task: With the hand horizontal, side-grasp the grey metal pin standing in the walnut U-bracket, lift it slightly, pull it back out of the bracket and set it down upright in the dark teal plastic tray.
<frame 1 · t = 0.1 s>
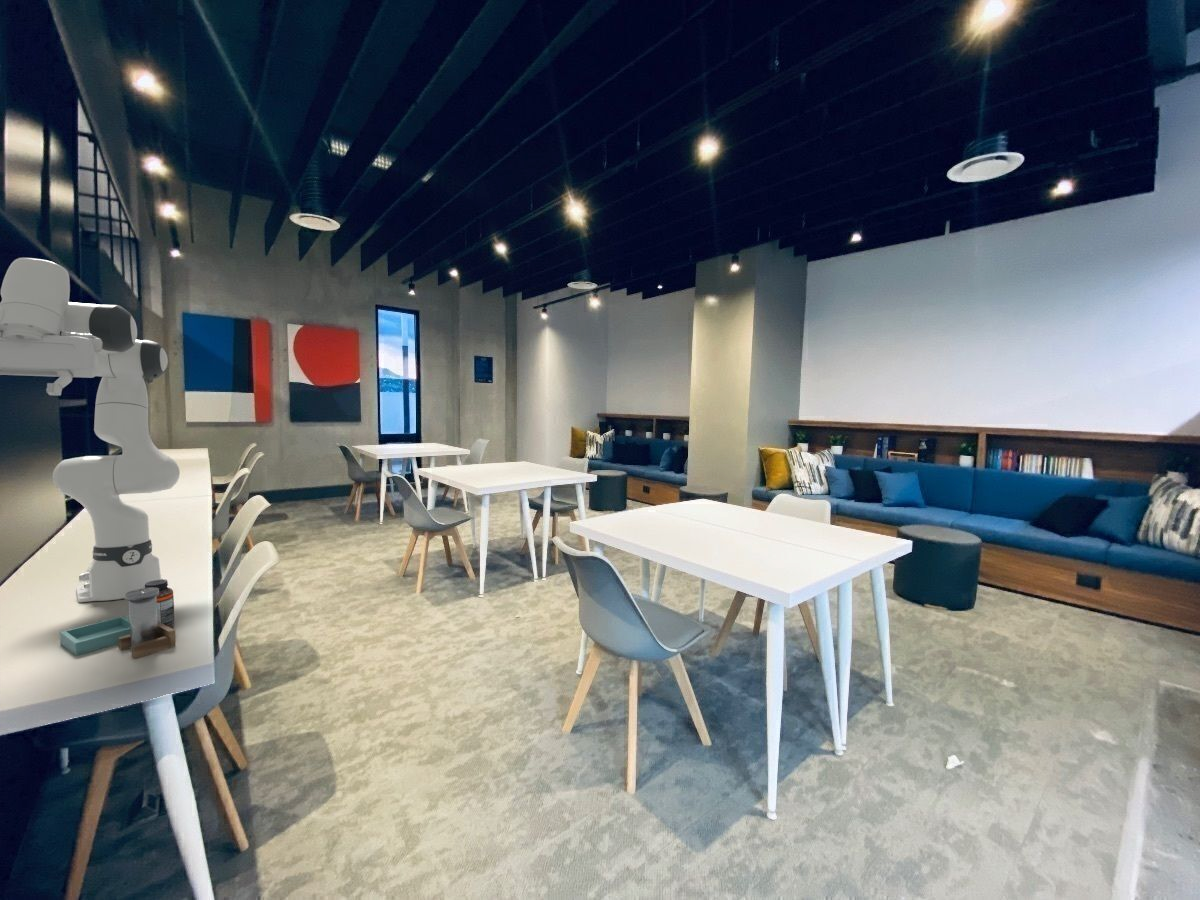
hand: (16, 393, 90), 54 cm above the table, tool tilted 30°, fingers open, 8 cm apart
pin: (145, 648, 108), on the table
tray: (101, 639, 112), on the table
bracket: (145, 647, 108), on the table
supplement bottle: (158, 629, 118), on the table
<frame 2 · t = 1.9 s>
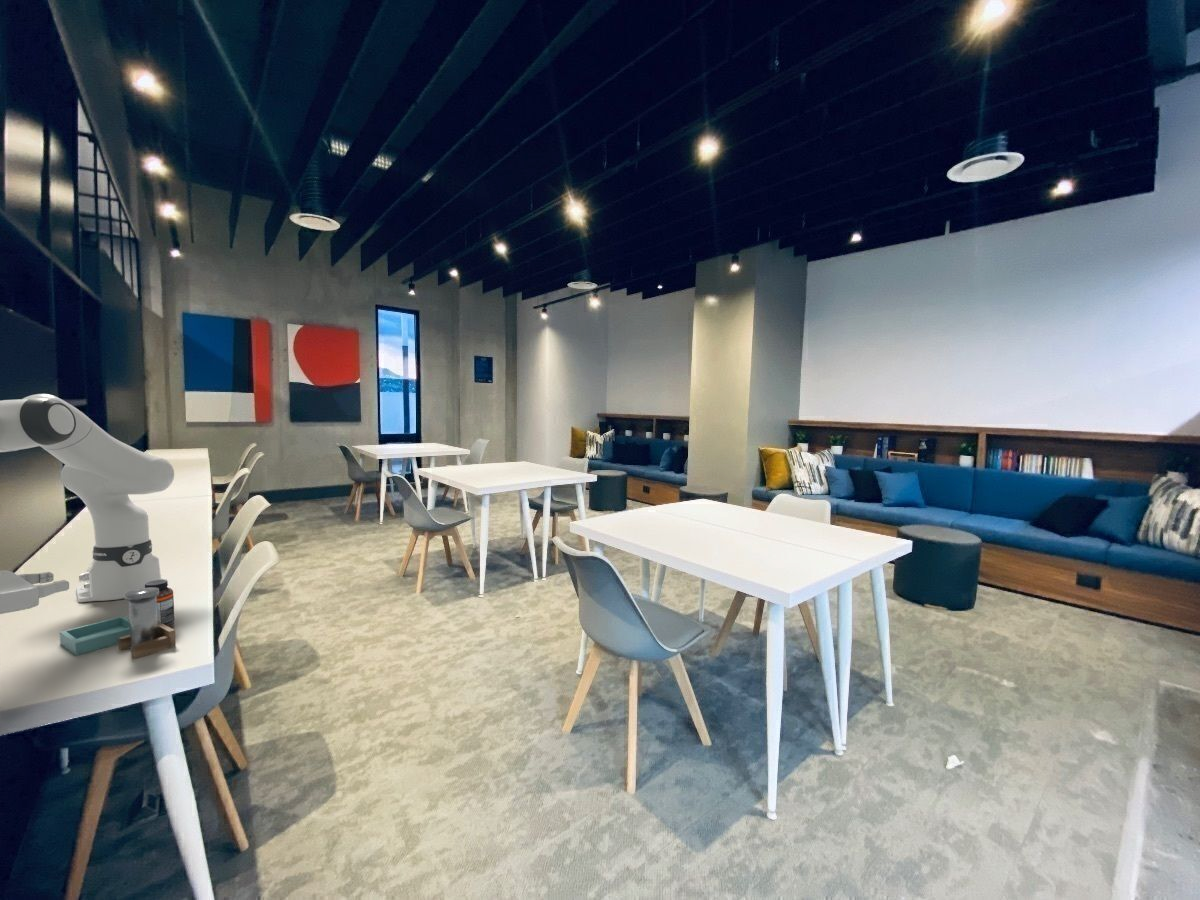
hand: (60, 580, 96), 18 cm above the table, tool horizontal, fingers open, 8 cm apart
nothing on the table moved.
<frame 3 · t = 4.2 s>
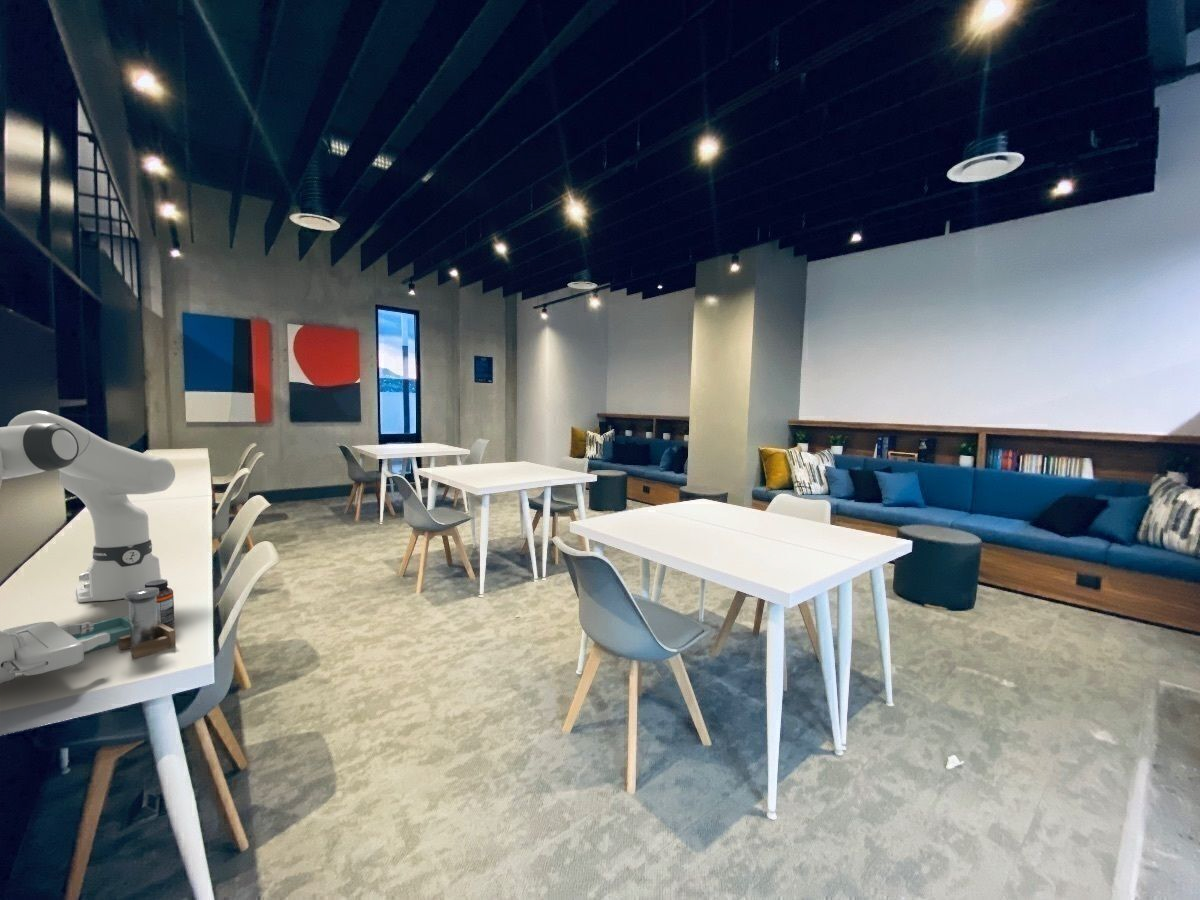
hand: (100, 631, 102), 6 cm above the table, tool horizontal, fingers open, 8 cm apart
nothing on the table moved.
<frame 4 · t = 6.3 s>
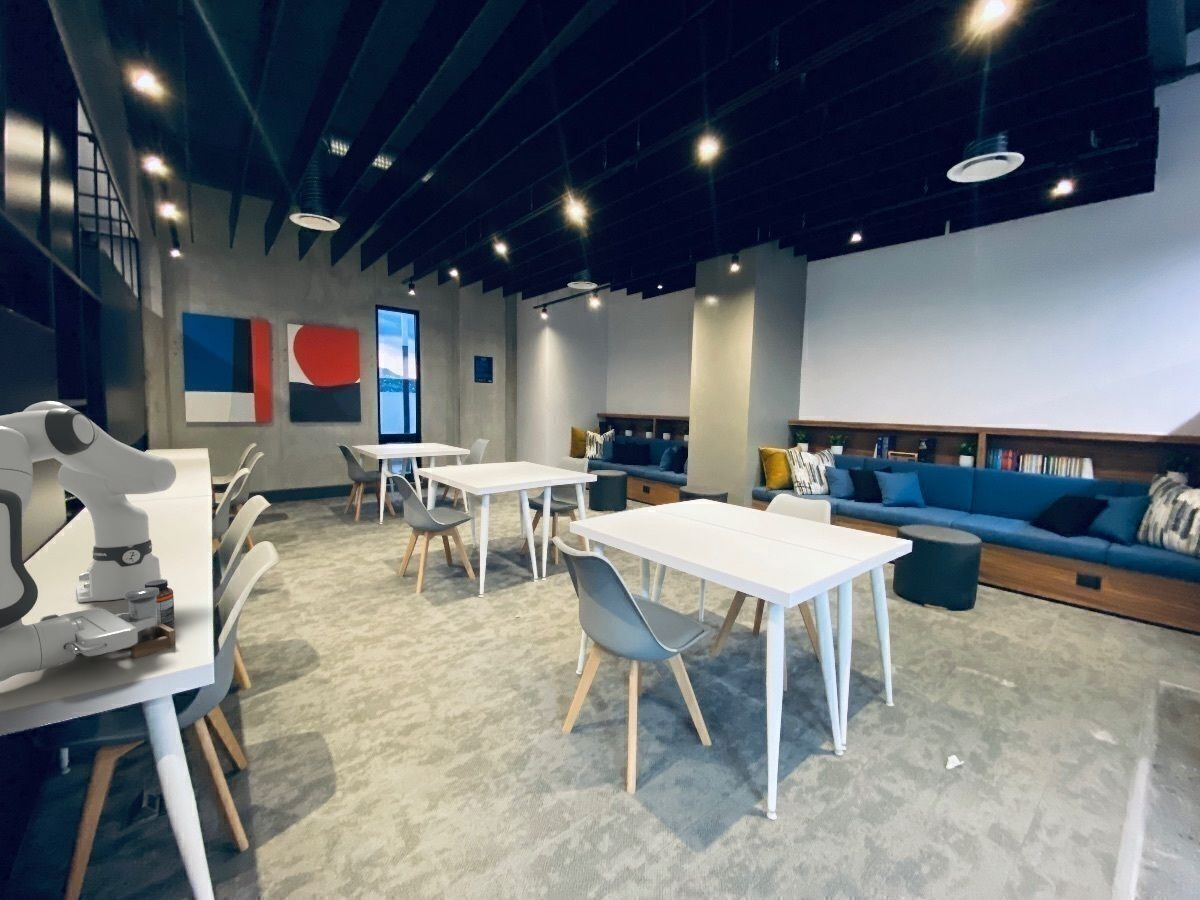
hand: (148, 617, 108), 7 cm above the table, tool horizontal, fingers closed on pin, 4 cm apart
pin: (145, 648, 108), on the table, touching gripper
everything else where it was.
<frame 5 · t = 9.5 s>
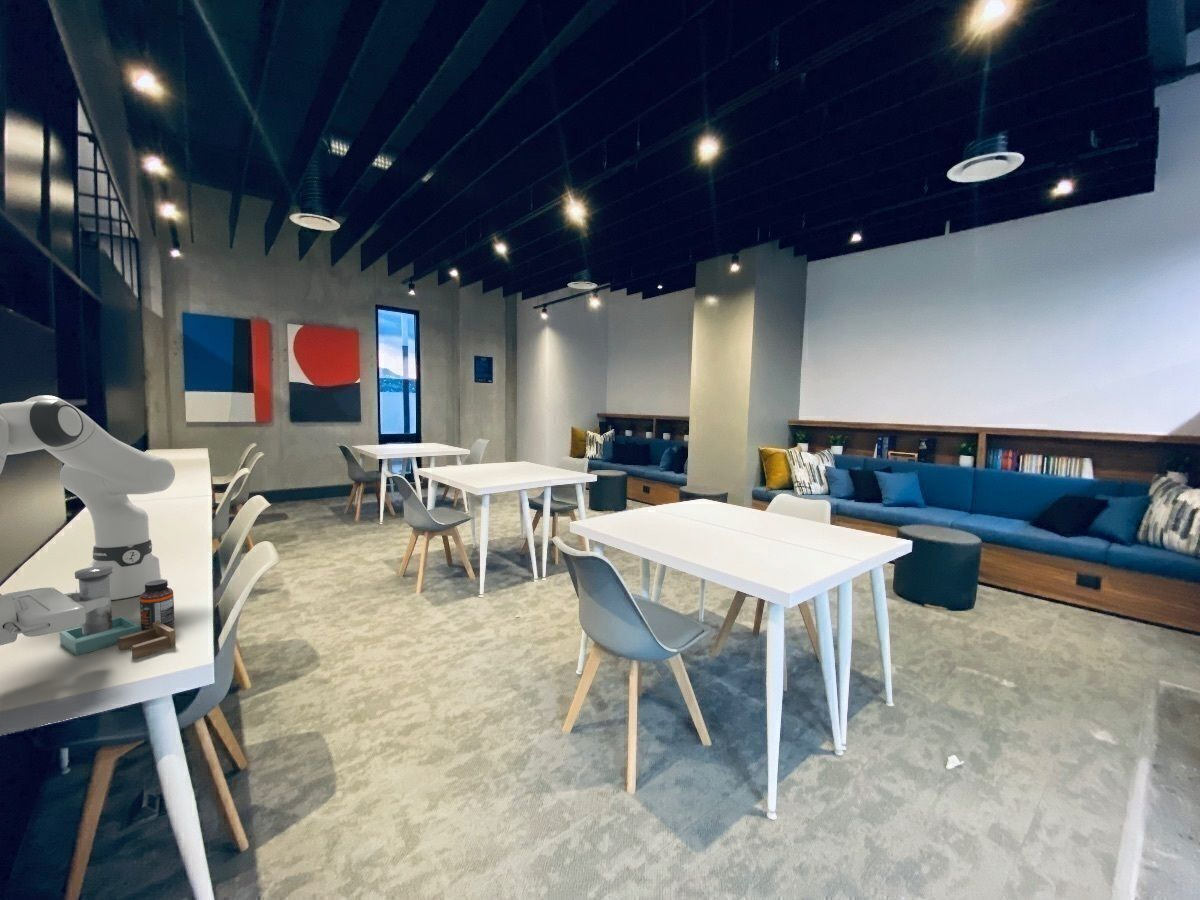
hand: (101, 597, 102), 13 cm above the table, tool horizontal, fingers closed on pin, 4 cm apart
pin: (97, 629, 102), point 7 cm above the table, touching gripper
everything else where it was.
when the fingers open (9 cm above the table, at t = 12.6 s): pin drops 1 cm, resting on tray.
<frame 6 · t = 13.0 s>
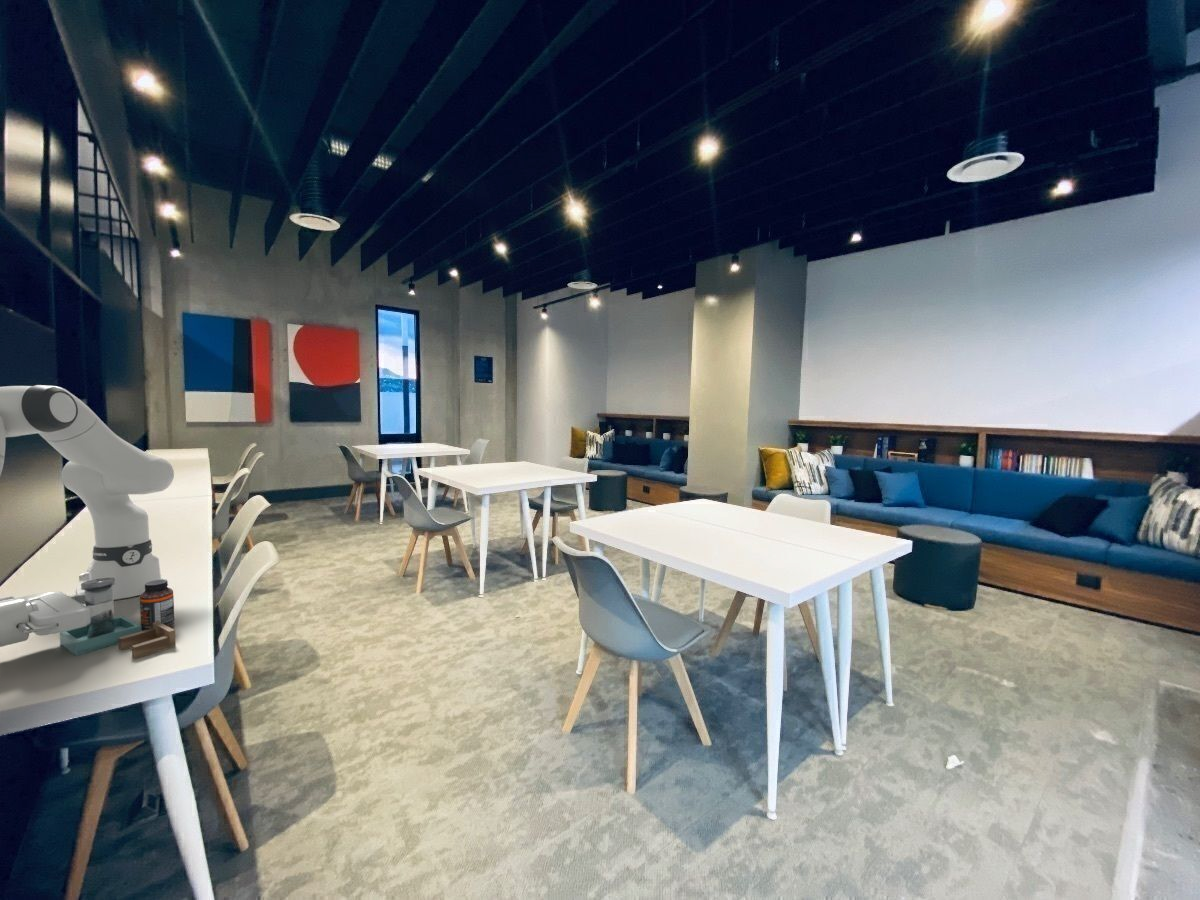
hand: (105, 600, 112), 9 cm above the table, tool horizontal, fingers open, 8 cm apart
pin: (101, 636, 112), point 1 cm above the table, touching tray
everything else where it was.
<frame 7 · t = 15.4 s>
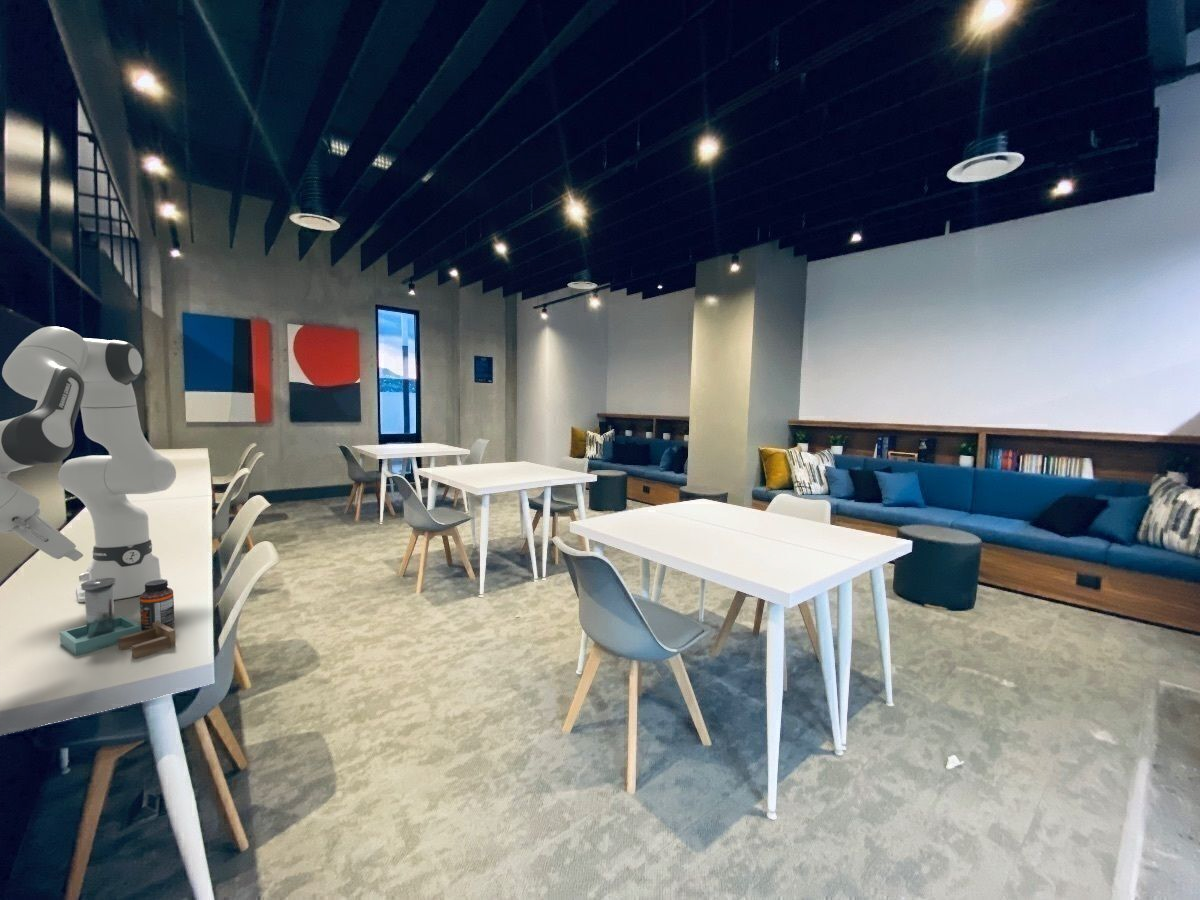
hand: (68, 549, 106), 22 cm above the table, tool tilted 45°, fingers open, 8 cm apart
nothing on the table moved.
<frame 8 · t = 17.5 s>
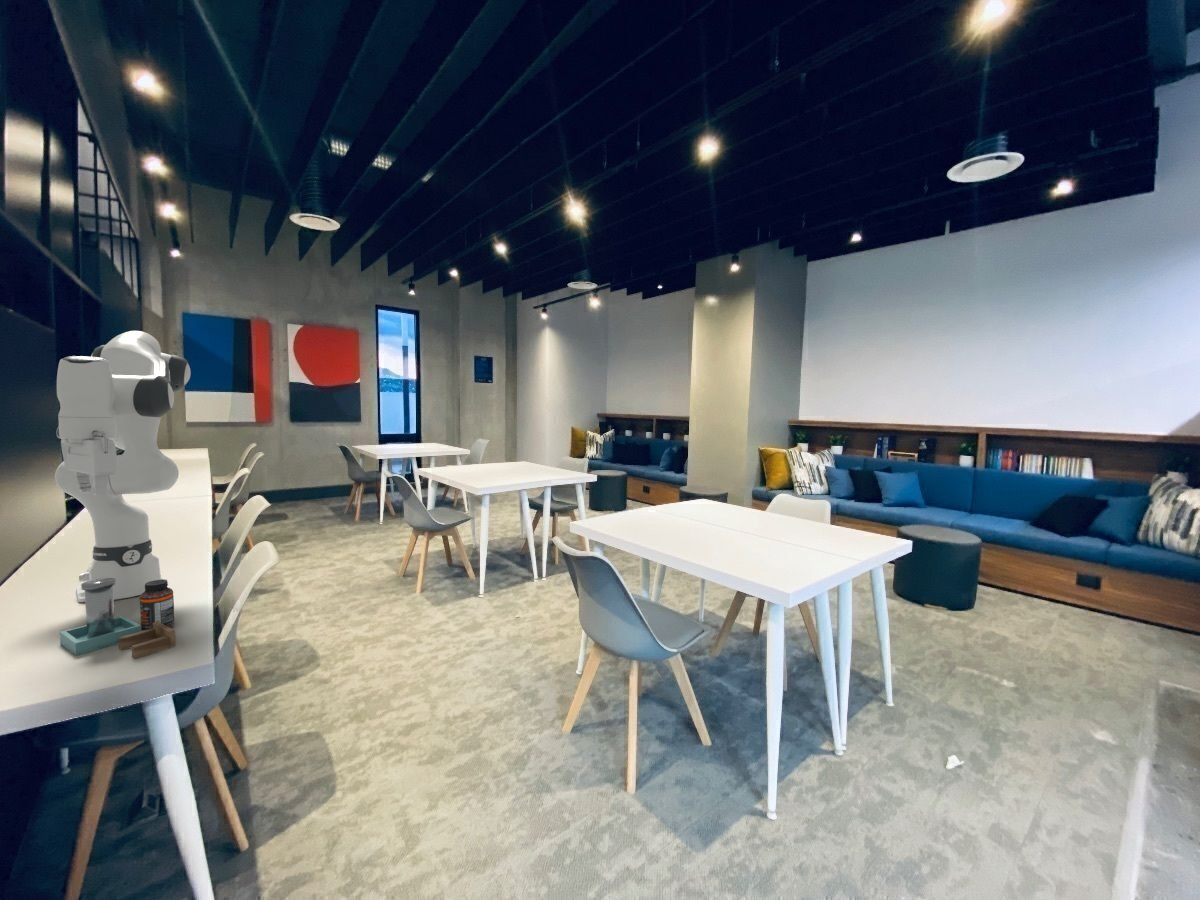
hand: (92, 493, 110), 33 cm above the table, tool pointing down, fingers open, 8 cm apart
nothing on the table moved.
at the end: pin inside the target area on the tray (0.0 cm from its centre), point 0.8 cm above the tray's base; pin tilted 0°; the gripper is holding nothing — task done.
